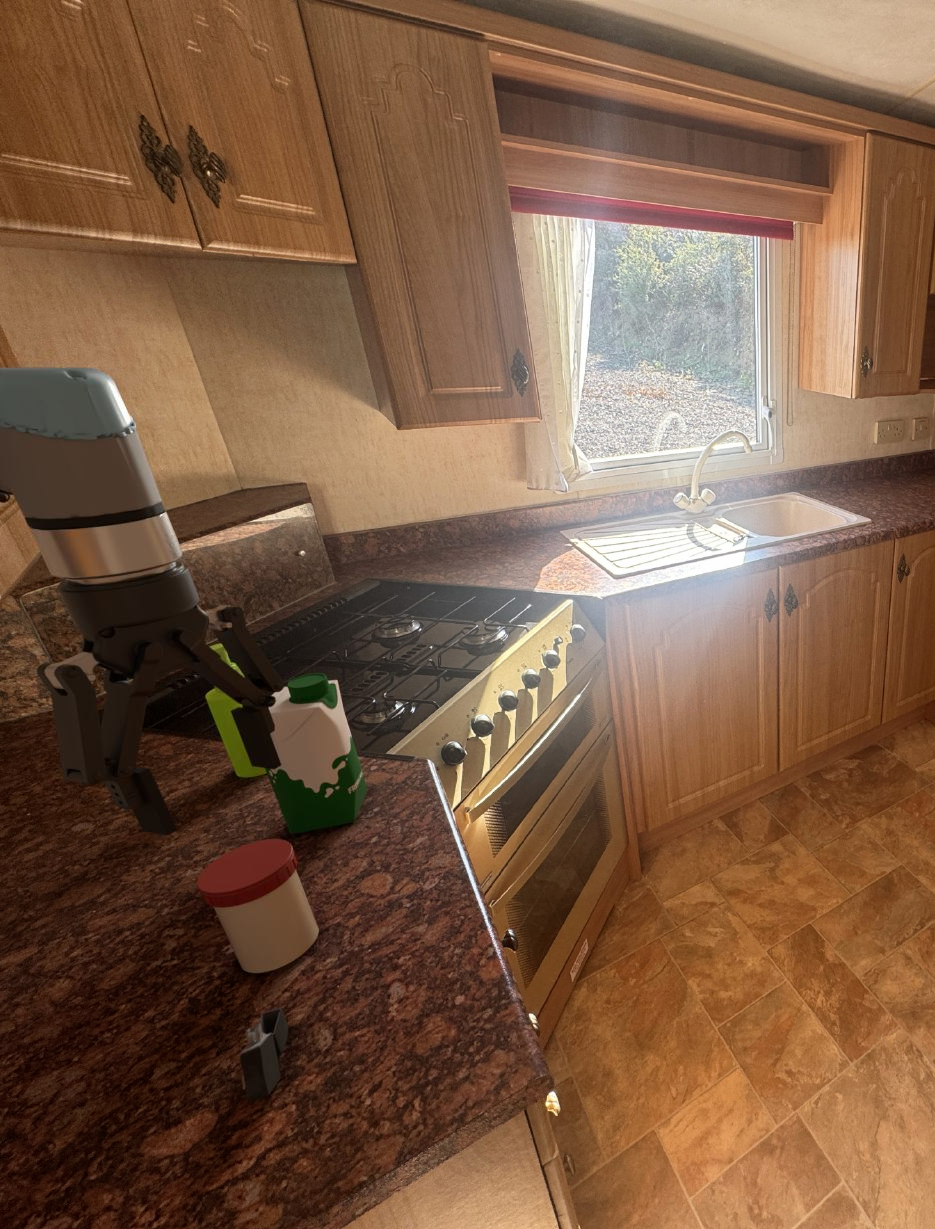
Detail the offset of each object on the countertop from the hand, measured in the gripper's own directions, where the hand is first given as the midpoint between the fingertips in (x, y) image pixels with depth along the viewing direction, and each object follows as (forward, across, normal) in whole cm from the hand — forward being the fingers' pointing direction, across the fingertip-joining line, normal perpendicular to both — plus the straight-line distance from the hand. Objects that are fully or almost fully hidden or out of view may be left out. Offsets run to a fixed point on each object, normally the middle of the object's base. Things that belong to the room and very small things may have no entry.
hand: (217, 795), depth 61 cm
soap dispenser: (+20, -26, -32) cm, 46 cm away
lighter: (+20, +11, +11) cm, 25 cm away
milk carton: (+20, -19, -13) cm, 30 cm away
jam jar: (+19, 0, 0) cm, 19 cm away
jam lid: (+9, 0, 0) cm, 9 cm away
